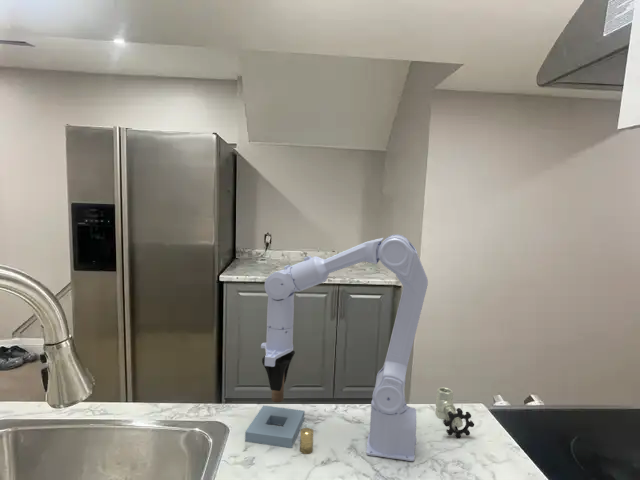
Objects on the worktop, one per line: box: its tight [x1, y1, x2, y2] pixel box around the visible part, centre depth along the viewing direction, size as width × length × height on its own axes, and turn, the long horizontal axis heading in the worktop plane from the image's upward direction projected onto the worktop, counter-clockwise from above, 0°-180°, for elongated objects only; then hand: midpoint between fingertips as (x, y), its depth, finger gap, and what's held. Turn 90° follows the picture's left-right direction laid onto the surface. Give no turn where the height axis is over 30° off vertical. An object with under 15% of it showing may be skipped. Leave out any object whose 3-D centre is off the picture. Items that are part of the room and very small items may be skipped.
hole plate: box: [244, 404, 306, 449], centre depth 91 cm, size 10×12×2 cm
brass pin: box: [299, 427, 314, 455], centre depth 83 cm, size 3×3×4 cm
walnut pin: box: [271, 378, 285, 403], centre depth 90 cm, size 3×3×8 cm
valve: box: [435, 386, 475, 440], centre depth 96 cm, size 7×7×12 cm
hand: (277, 386), depth 90 cm, fingers closed on walnut pin, 3 cm apart
